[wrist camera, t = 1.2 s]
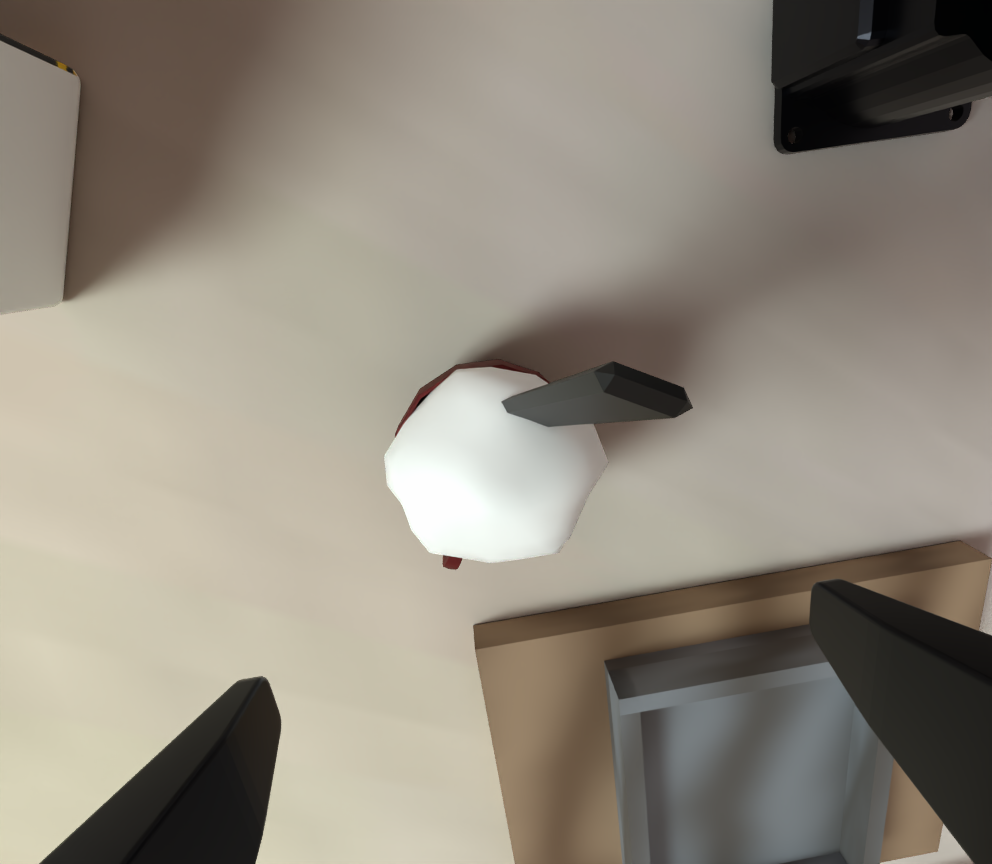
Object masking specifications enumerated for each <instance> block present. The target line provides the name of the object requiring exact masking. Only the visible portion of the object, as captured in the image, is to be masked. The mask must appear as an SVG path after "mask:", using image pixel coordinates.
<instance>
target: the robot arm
mask: <svg viewBox="0 0 992 864" xmlns="http://www.w3.org/2000/svg"><path fill="white" fill-rule="evenodd" d="M771 81H772V83H773V85H774V86H775V106H774V146H775V148H776V149H777V151H778V152H780V153H782V154H793V153H800V152H807V151H814V150H820V149H827V148H834V147H841V146H848V145H855V144H862V143H869V142H876V141H883V140H890V139H897V138H904V137H911V136H917V135H924V134H931V133H938V132H945V131H949V130H953V129H956V128H959V127H961V126H962V125H963V124H964V123H965V122H966V120H967V119H968V117H969V114H970V111H971V103H972V101H976V100H979V99H983V98H987V97H990V96H992V0H773V32H772V74H771ZM950 109H952V110H953V116H952V119H951V120H950V118H949V111H950ZM790 130H793V131H794V132H795V136H796V137H795V141H794V142H793V144H791V143H790V142H789V141H788V133H789V131H790ZM809 626H810V631H811V634H812V636H813V638H814V640H815V641H816V643H817V645H818V646H819V648H820V649H821V651H822V652H823V654H824V656H825V657H826V659H827V660H828V662H829V664H830V665H831V667H832V668H833V670H834V672H835V673H836V675H837V676H838V678H839V680H840V681H841V683H842V684H843V686H844V688H845V689H846V691H847V692H848V694H849V695H850V697H851V699H852V700H853V702H854V703H855V705H856V707H857V708H858V710H859V711H860V713H861V714H862V716H863V717H864V719H865V720H866V722H867V723H868V725H869V726H870V728H871V729H872V730H873V732H874V733H875V734H876V736H877V737H878V738H879V740H880V741H881V742H882V744H883V745H884V746H885V748H886V749H887V750H888V752H889V753H890V754H891V755H892V757H893V758H894V759H895V761H896V762H897V763H898V765H899V766H900V767H901V769H902V770H903V771H904V772H905V774H906V775H907V776H908V778H909V779H910V780H911V782H912V783H913V784H914V786H915V787H916V788H917V790H918V791H919V792H920V793H921V795H922V796H923V797H924V799H925V800H926V801H927V803H928V804H929V805H930V807H931V808H932V809H933V810H934V812H935V813H936V814H937V816H938V817H939V818H940V820H941V821H942V822H943V824H944V825H945V826H946V827H947V829H948V830H949V831H950V833H951V834H952V835H953V837H954V838H955V839H956V841H957V842H958V843H959V844H960V846H961V847H962V848H963V850H964V851H965V852H966V854H967V855H968V856H969V858H970V859H971V860H972V861H973V863H974V864H992V636H991V635H989V634H986V633H983V632H981V631H978V630H975V629H973V628H970V627H968V626H965V625H962V624H960V623H957V622H954V621H952V620H949V619H946V618H944V617H941V616H938V615H936V614H933V613H930V612H928V611H925V610H922V609H920V608H917V607H914V606H912V605H909V604H906V603H904V602H901V601H899V600H896V599H893V598H891V597H888V596H885V595H883V594H880V593H877V592H875V591H872V590H869V589H867V588H864V587H861V586H859V585H856V584H853V583H851V582H848V581H846V580H843V579H830V580H824V581H819V582H816V583H815V584H814V585H813V586H812V589H811V600H810V615H809ZM280 733H281V717H280V713H279V710H278V707H277V704H276V701H275V698H274V695H273V692H272V689H271V687H270V684H269V682H268V680H267V679H266V678H265V677H262V676H260V677H254V678H248V679H242V680H239V681H237V682H236V683H235V684H233V685H232V686H231V687H230V688H229V689H228V690H227V691H226V692H225V693H224V694H223V695H222V696H220V697H219V698H218V699H217V700H216V701H215V702H214V703H213V704H212V705H211V706H210V707H209V708H207V709H206V710H205V711H204V712H203V713H202V714H201V715H200V716H199V717H198V718H197V719H196V720H194V721H193V722H192V723H191V724H190V725H189V726H188V727H187V728H186V729H185V730H184V731H183V732H181V733H180V734H179V735H178V736H177V737H176V738H175V739H174V740H173V741H172V742H171V743H170V744H168V745H167V746H166V747H165V748H164V749H163V750H162V751H161V752H160V753H159V754H158V755H157V756H155V757H154V758H153V759H152V760H151V761H150V762H149V763H148V764H147V765H146V766H145V767H143V768H142V769H141V770H140V771H139V772H138V773H137V774H136V775H135V776H134V777H133V778H132V779H130V780H129V781H128V782H127V783H126V784H125V785H124V786H123V787H122V788H121V789H120V790H119V791H117V792H116V793H115V794H114V795H113V796H112V797H111V798H110V799H109V800H108V801H107V802H106V803H104V804H103V805H102V806H101V807H100V808H99V809H98V810H97V811H96V812H95V813H94V814H93V815H91V816H90V817H89V818H88V819H87V820H86V821H85V822H84V823H83V824H82V825H81V826H80V827H78V828H77V829H76V830H75V831H74V832H73V833H72V834H71V835H70V836H69V837H68V838H66V839H65V840H64V841H63V842H62V843H61V844H60V845H59V846H58V847H57V848H56V849H55V850H53V851H52V852H51V853H50V854H49V855H48V856H47V857H46V858H45V859H44V860H43V861H42V862H40V863H39V864H255V863H256V859H257V855H258V852H259V848H260V844H261V840H262V836H263V831H264V826H265V821H266V815H267V810H268V804H269V798H270V792H271V786H272V780H273V774H274V768H275V762H276V757H277V751H278V745H279V739H280Z"/></svg>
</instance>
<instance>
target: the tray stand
mask: <svg viewBox="0 0 992 864" xmlns="http://www.w3.org/2000/svg"><path fill="white" fill-rule="evenodd" d="M991 562H992V558H990V557H988V556H986V555H985V554H983V553H981V552H979V551H978V550H976V549H974V548H972V547H971V546H969V545H967V544H965V543H964V542H962V541H956V542H950V543H945V544H939V545H933V546H927V547H922V548H916V549H910V550H904V551H899V552H893V553H887V554H882V555H876V556H870V557H864V558H859V559H853V560H847V561H841V562H836V563H830V564H824V565H818V566H813V567H807V568H801V569H795V570H790V571H784V572H778V573H772V574H767V575H761V576H755V577H749V578H744V579H738V580H732V581H727V582H721V583H715V584H709V585H704V586H698V587H692V588H686V589H681V590H675V591H669V592H663V593H658V594H652V595H646V596H640V597H635V598H629V599H623V600H617V601H612V602H606V603H600V604H595V605H589V606H583V607H577V608H572V609H566V610H560V611H554V612H549V613H543V614H537V615H531V616H526V617H520V618H514V619H508V620H503V621H497V622H491V623H485V624H480V625H474V626H473V628H474V641H475V652H476V657H477V662H478V668H479V673H480V679H481V684H482V689H483V695H484V700H485V705H486V711H487V716H488V721H489V727H490V732H491V737H492V743H493V748H494V754H495V759H496V764H497V770H498V775H499V780H500V786H501V791H502V796H503V802H504V807H505V813H506V818H507V823H508V829H509V834H510V839H511V845H512V850H513V855H514V861H515V864H880V863H881V862H886V861H891V860H896V859H901V858H906V857H911V856H916V855H922V854H927V853H932V852H937V851H938V848H939V842H940V837H941V832H942V826H943V822H942V821H941V820H940V818H939V817H938V816H937V814H936V813H935V812H934V810H933V809H932V808H931V807H930V805H929V804H928V803H927V801H926V800H925V799H924V797H923V796H922V795H921V793H920V792H919V791H918V790H917V788H916V787H915V786H914V784H913V783H912V782H911V780H910V779H909V778H908V776H907V775H906V774H905V772H904V771H903V770H902V769H901V767H900V766H899V765H898V763H897V762H896V761H895V759H894V758H893V757H892V755H891V754H890V753H889V752H888V750H887V749H886V748H885V746H884V745H883V744H882V742H881V741H880V740H879V738H878V737H877V736H876V734H875V733H874V732H873V730H872V729H871V728H870V726H869V725H868V723H867V722H866V720H865V719H864V717H863V716H862V714H861V713H860V711H859V710H858V708H857V707H856V705H855V703H854V702H853V700H852V699H851V697H850V695H849V694H848V692H847V691H846V689H845V688H844V686H843V684H842V683H841V681H840V680H839V678H838V676H837V675H836V673H835V672H834V670H833V668H832V667H831V665H830V664H829V662H828V660H827V659H826V657H825V656H824V654H823V652H822V651H821V649H820V648H819V646H818V645H817V643H816V641H815V640H814V638H813V636H812V634H811V631H810V626H809V615H810V600H811V589H812V586H813V585H814V584H815V583H816V582H819V581H824V580H830V579H843V580H846V581H848V582H851V583H853V584H856V585H859V586H861V587H864V588H867V589H869V590H872V591H875V592H877V593H880V594H883V595H885V596H888V597H891V598H893V599H896V600H899V601H901V602H904V603H906V604H909V605H912V606H914V607H917V608H920V609H922V610H925V611H928V612H930V613H933V614H936V615H938V616H941V617H944V618H946V619H949V620H952V621H954V622H957V623H960V624H962V625H965V626H968V627H970V628H973V629H975V630H978V631H979V627H980V621H981V616H982V611H983V605H984V600H985V595H986V589H987V584H988V578H989V573H990V568H991Z"/></svg>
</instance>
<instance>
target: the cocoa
mask: <svg viewBox="0 0 992 864" xmlns="http://www.w3.org/2000/svg"><path fill="white" fill-rule="evenodd" d="M692 408H693V407H692V405H691V402H690V400H689V398H688V396H687V394H686V392H685V390H684V388H683V387H680V386H678V385H675V384H672V383H670V382H667V381H664V380H662V379H659V378H656V377H654V376H651V375H648V374H646V373H643V372H640V371H638V370H635V369H632V368H630V367H627V366H624V365H622V364H619V363H616V362H614V361H613V362H610V363H607V364H604V365H601V366H598V367H595V368H592V369H589V370H586V371H584V372H581V373H578V374H575V375H572V376H569V377H566V378H563V379H560V380H557V381H554V382H552V383H549V382H548V381H547V380H546V379H545V378H544V377H543V376H542V375H541V374H540V373H539V372H536V371H533V370H530V369H527V368H524V367H521V366H518V365H515V364H512V363H509V362H506V361H502V360H499V359H495V360H488V361H480V362H473V363H466V364H458V365H455V366H454V367H452V368H451V369H449V370H448V371H446V372H445V373H443V374H441V375H440V376H438V377H437V378H435V379H434V380H432V381H431V382H429V383H428V384H426V385H425V386H423V387H422V388H420V390H419V391H418V393H417V395H416V396H415V398H414V400H413V401H412V403H411V405H410V407H409V408H408V410H407V412H406V413H405V415H404V417H403V418H402V420H401V422H400V424H399V426H398V428H397V431H396V433H395V439H394V441H393V442H392V444H391V446H390V447H389V449H388V451H387V452H386V454H385V456H384V459H385V469H386V480H387V486H388V487H389V488H390V490H391V491H392V492H393V494H394V495H395V496H396V498H397V499H398V500H399V501H400V503H401V504H402V506H403V508H404V511H405V514H406V517H407V519H408V522H409V525H410V528H411V530H412V531H413V533H414V534H415V535H416V536H417V538H418V539H419V540H420V541H421V543H422V544H423V545H424V546H425V548H426V549H427V550H428V551H429V553H434V554H440V555H443V567H446V568H448V569H455V570H456V569H458V567H459V566H460V563H461V561H462V558H464V559H470V560H476V561H481V562H487V563H496V562H504V561H512V560H520V559H526V558H532V557H538V556H544V555H550V554H556V553H559V552H560V550H561V549H562V547H563V545H564V544H565V542H566V541H567V540H568V539H569V538H570V536H571V534H572V532H573V529H574V527H575V525H576V523H577V520H578V518H579V516H580V514H581V511H582V509H583V507H584V505H585V502H586V500H587V498H588V495H589V494H590V492H591V491H592V489H593V487H594V486H595V484H596V483H597V481H598V479H599V478H600V476H601V474H602V473H603V471H604V470H605V468H606V466H607V465H608V463H609V462H608V460H607V457H606V454H605V452H604V449H603V447H602V444H601V442H600V439H599V437H598V434H597V431H596V429H595V426H594V424H596V423H610V422H624V421H638V420H652V419H666V418H675V417H677V416H679V415H681V414H683V413H685V412H686V411H688V410H690V409H692Z"/></svg>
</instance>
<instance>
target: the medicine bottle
mask: <svg viewBox="0 0 992 864" xmlns="http://www.w3.org/2000/svg"><path fill="white" fill-rule="evenodd" d="M80 89H81V83H80V78H79V77H78V75H77V74H76V72H75V71H74V70H73V69H71V68H70V67H68V66H67V65H65V64H63V63H60V62H58V61H56V60H54V59H52V58H50V57H48V56H46V55H44V54H42V53H39V52H37V51H35V50H33V49H31V48H29V47H27V46H25V45H23V44H21V43H19V42H16V41H14V40H12V39H10V38H8V37H6V36H4V35H2V34H0V315H2V314H9V313H15V312H22V311H28V310H34V309H41V308H47V307H54V306H56V305H57V304H59V303H60V302H61V301H62V299H63V292H64V280H65V268H66V256H67V244H68V232H69V220H70V208H71V197H72V185H73V173H74V161H75V149H76V137H77V125H78V113H79V101H80Z"/></svg>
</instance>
